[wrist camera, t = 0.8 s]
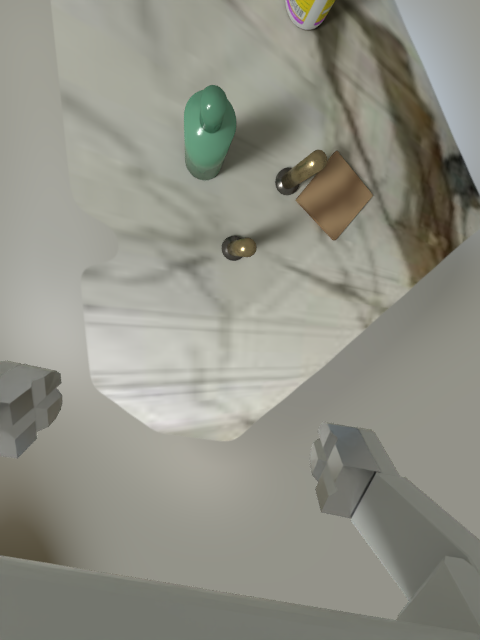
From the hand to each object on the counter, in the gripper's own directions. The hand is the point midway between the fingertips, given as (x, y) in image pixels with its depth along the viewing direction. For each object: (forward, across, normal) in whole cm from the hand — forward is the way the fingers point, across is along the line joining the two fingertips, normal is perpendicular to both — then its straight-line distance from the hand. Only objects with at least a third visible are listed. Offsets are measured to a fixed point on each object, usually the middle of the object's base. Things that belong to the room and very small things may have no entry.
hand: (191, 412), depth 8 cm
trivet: (+45, -14, -12) cm, 48 cm away
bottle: (+40, +8, -13) cm, 43 cm away
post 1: (+40, +1, -1) cm, 40 cm away
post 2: (+43, -5, -12) cm, 45 cm away
